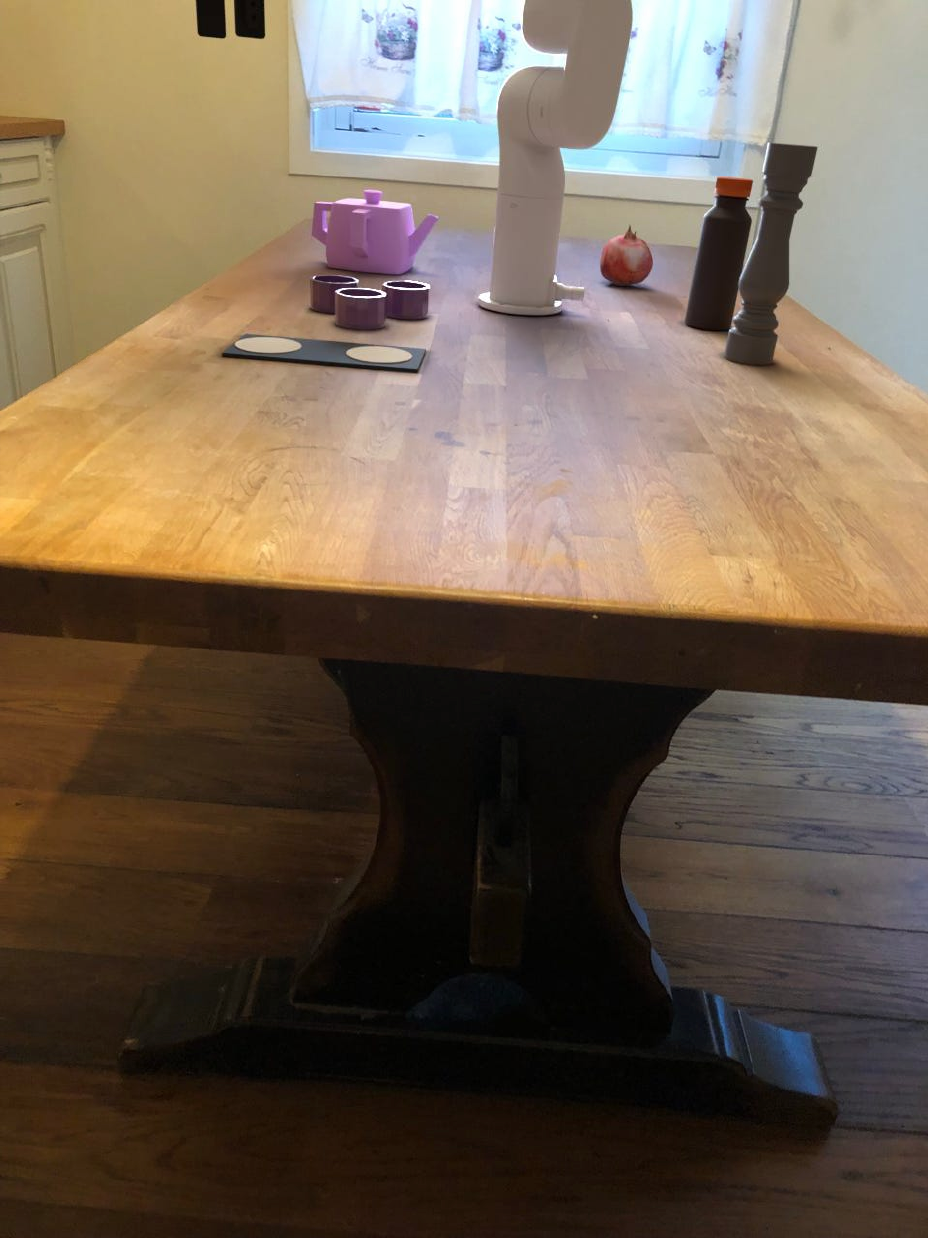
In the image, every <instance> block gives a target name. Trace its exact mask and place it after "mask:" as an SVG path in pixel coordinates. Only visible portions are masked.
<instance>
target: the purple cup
mask: <svg viewBox="0 0 928 1238" xmlns="http://www.w3.org/2000/svg"><path fill="white" fill-rule="evenodd" d="M309 281H310V282H309V287H310V288H309V294H310V295H309V296H310V298H309V300H310V303H309V304H310V309H311V310H312V311H316V312H319V313H324V314H334V315H335V291H337V290H339V289H344V288H359V286H360V285H359V279H357V277H352V276H348V275H339V274H318V275H312V276H311V277H310V278H309Z"/></svg>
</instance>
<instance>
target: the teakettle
mask: <svg viewBox="0 0 928 1238" xmlns="http://www.w3.org/2000/svg"><path fill="white" fill-rule="evenodd" d="M362 193H363V196H364V199H361V198H348V197H347V198H343V199H339V200H336V201H334V202H327V201H316V202H313V203H314V205H313V212H312V213H313V215H312V226H311V237H313V238H314V239H316V240H318V242H319V243H322V244H323V245H324V246H325V258H326V262H327V265H328V268H330V269H335V270H342V271H343V270H344V271H352V272H361V273H371V274H384V275H402V274H404V273H406V272H408V271H409V270H410V269H412V268H413V266H414V262H415V260H416V254H417V253H418V251H419V250H420V248H421V247H422V245H423V244H424V242H425V240H426V239H427V238H428V236H429V234H430V233H431V232H432V230H433V228H434V227H435V225H436V223H437V222H438V220H439V216H438V215H433V214H431V213H428V214H427V216H426V217H425V218H424V219H423V221H421V223H420V224H419V225H418V226H417V227H416V226H415V220H414V213H413V208H412V204H410V203H403V202H395V201H385V200H381V199H382V196H383V192H382V191H381V190H375V189H365V190H363V192H362ZM327 212H330V213H329V218H328V222H327ZM327 223H328V224H327ZM415 227H416V228H415Z"/></svg>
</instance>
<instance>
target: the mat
mask: <svg viewBox="0 0 928 1238" xmlns="http://www.w3.org/2000/svg"><path fill="white" fill-rule="evenodd" d="M426 353H427V348H420V347H409V346H397V345H396V346H395V345H384V344H375V343H374V344H372V343H363V342H349V341H336V340H327V339H326V340H324V339H313V338H302V337H292V336H291V337H289V336H278V335H277V336H276V335H266V334H254V333H253V334H252V333H245V334H244V335H242V336H241V337H240V338H238V339H237V340H236V341H235V342H234V343H232V344H231V345H230V346H229V347H228V348H226V349H225V350H224V351H222V352H221V356H222V357H228V358H241V359H251V360H261V361H262V360H263V361H274V362H285V363H286V362H287V363H297V364H298V363H300V364H308V365H309V364H310V365H321V366H322V365H323V366H332V367H333V366H335V367H346V368H358V369H369V370H382V371H392V372H393V371H394V372H405V373H415V374H416V373H417V374H418V373H419V370H420V368H421V365H422V363H423V360H424V358H425V355H426Z"/></svg>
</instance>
